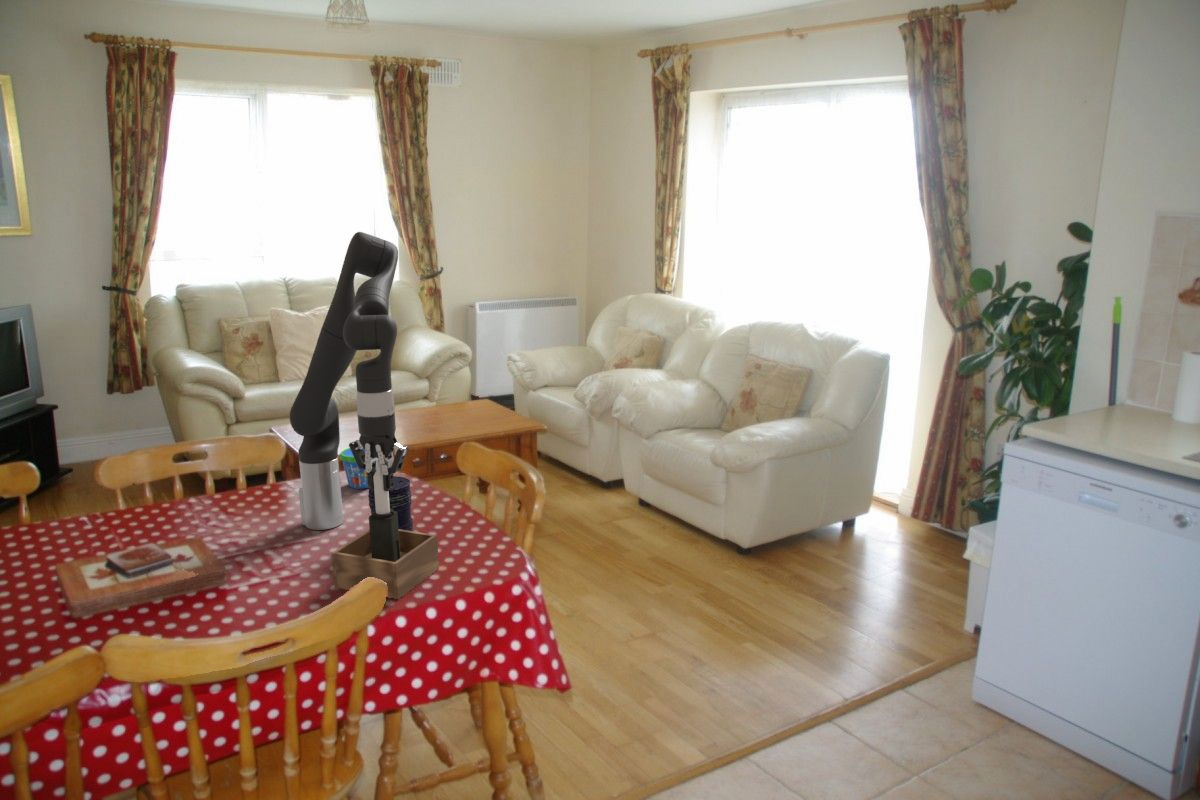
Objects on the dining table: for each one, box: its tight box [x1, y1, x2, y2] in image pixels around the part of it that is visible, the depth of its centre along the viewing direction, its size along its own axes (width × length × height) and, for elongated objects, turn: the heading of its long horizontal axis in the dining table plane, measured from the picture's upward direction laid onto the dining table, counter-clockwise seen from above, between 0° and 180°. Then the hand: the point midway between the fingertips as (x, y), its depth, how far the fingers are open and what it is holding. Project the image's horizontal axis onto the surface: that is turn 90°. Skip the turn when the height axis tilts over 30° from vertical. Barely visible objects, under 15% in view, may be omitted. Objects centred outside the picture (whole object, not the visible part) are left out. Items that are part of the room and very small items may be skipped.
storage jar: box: [367, 475, 415, 532], centre depth 213 cm, size 10×10×15 cm
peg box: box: [331, 528, 440, 601], centre depth 195 cm, size 16×16×8 cm
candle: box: [368, 459, 400, 562], centre depth 192 cm, size 5×5×25 cm
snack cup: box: [339, 447, 378, 490], centre depth 252 cm, size 16×10×10 cm
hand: (381, 488), depth 191 cm, fingers closed on candle, 3 cm apart
